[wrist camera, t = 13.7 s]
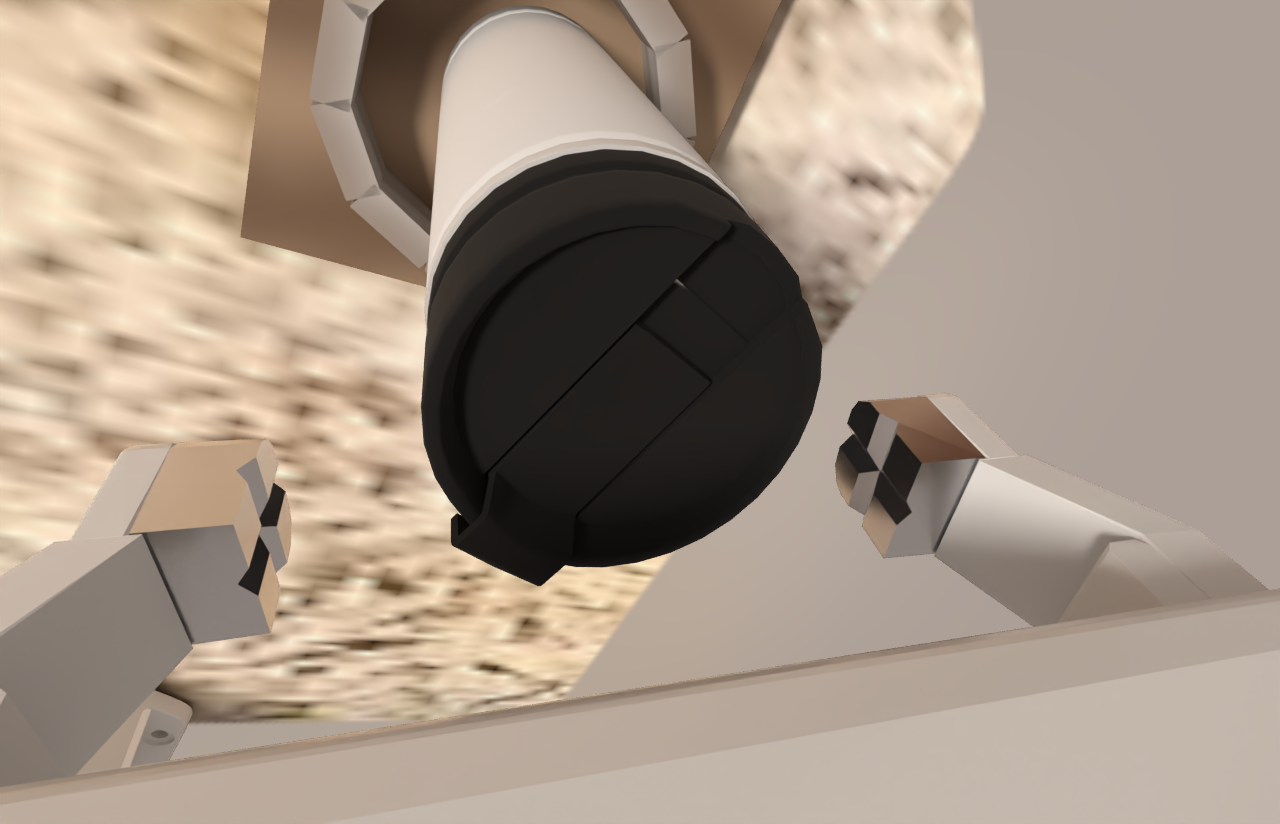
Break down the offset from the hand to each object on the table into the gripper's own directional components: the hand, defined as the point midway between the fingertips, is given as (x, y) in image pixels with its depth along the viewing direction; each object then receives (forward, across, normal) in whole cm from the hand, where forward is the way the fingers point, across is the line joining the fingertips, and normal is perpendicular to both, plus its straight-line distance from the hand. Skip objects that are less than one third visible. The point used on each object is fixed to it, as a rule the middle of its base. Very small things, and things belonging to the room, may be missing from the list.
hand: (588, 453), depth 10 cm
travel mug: (+20, -1, 0) cm, 20 cm away
